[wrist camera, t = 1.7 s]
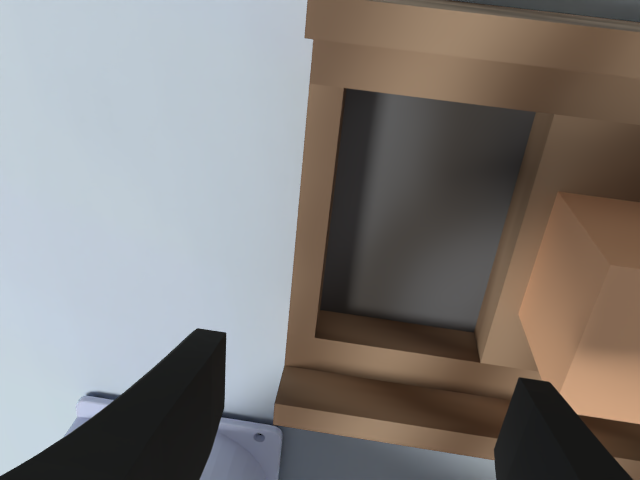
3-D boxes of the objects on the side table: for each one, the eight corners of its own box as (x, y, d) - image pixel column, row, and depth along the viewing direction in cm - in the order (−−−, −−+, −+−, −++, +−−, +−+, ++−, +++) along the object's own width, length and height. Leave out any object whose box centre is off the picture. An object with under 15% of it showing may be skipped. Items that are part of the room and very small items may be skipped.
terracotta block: (518, 314, 19) (552, 410, 15) (557, 191, 17) (610, 264, 13) (654, 334, 18) (726, 437, 14) (711, 211, 16) (814, 293, 12)
